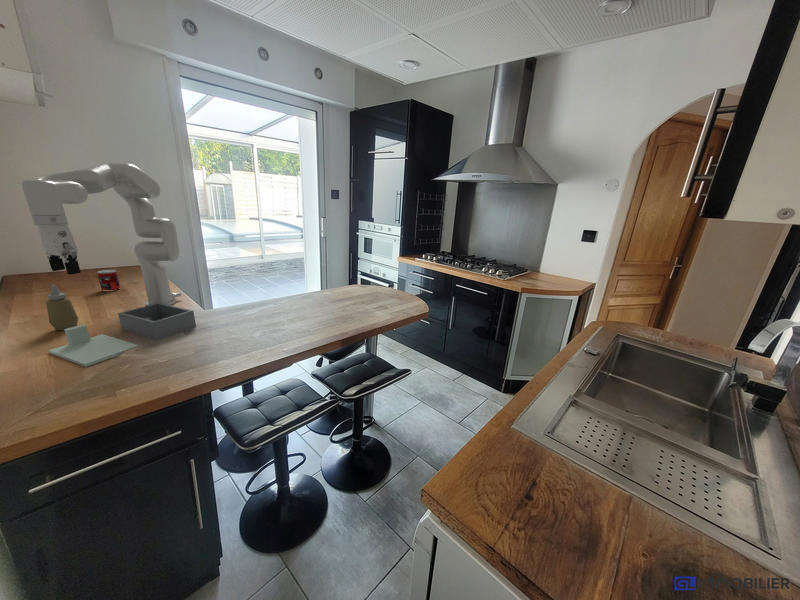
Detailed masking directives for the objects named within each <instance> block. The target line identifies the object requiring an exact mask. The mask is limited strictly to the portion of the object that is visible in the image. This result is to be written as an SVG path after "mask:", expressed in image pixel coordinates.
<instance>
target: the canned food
mask: <svg viewBox="0 0 800 600" xmlns="http://www.w3.org/2000/svg"><path fill="white" fill-rule="evenodd" d="M96 274H97V278H98V281H99V285H100V288H101V291H102V290H115V289H119V288H120V289H121V285H120V280H119V276H118V273H117V270H115V269H103V270H98V271H97V273H96ZM120 289H119V290H120Z"/></svg>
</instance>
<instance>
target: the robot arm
mask: <svg viewBox="0 0 800 600" xmlns="http://www.w3.org/2000/svg"><path fill="white" fill-rule="evenodd" d="M20 184H21V189H22V191H23V194H24V197H25V201H26V203H27V206H28V209H29V212H30V213H29V214H30V215H31V218H32V222H33V224H34V226H35V227H37V228H38V233H39V238H40V241H41V244H42V247H43V250H44V252H45V254H46V257H47V260H48V263H49V266H50V269H51V271H53V272H57V271H64V270H65V271H66V273H67V275H68V276H69V275H75V274H81V268H80V264H79V261H78V255H79V249H78V248H77V245H76V241H75V239H74V236H73V234H72V231H71V229H70V228H69V226H68V225H69V222H68V219H67V215H66V212H65V208H64V204H65V205H79V204H83V203H85V202H86V201H87V199H88V198H89V197H88V196H89V195H93V194H101V193H102V192H105V191H107V190H109V189H112V188H113V190H114V192H115V193H116V194H117V195H118V196H119V197H121V198H122V199H123V200H124V201H125V202H126V203H127V204H128V206H129V209H130V211H131V215H132V216H131V217H132V222H133V227H134V232H135V234H136V236H138V237H140V238H142V239H161V240H162V241H159V240H141V241H140V242H138V243H136V244H135V245H134V248H133V249H134V250H133V251H134V254H135V257H136V259H137V260H138V263H139V265H140V270H141V273H142V279H143V284H144V287H145V292H146V296H147V301H146V302H145V303H144V305H145V306H148V305H152V304H156V303H162V304H166V305H171V306H173V304H174V305H175V303H177V300H176V298H179V297H181V296H182V292H171V287H170V283H169V278H168V273H167V272H168V271H167V268H166V266H165V265H164V264H163V262H174V261H177V260H178V259H179V257H180V246H179V240H178V234H177V233H178V232H177V229H176V226H175V224H174V222H173V221H172V220H170V218H169V219H168V218H165V217H163V218H161V217H157V216H156V213H155V209H154V206H153V204H152V203H151V202H150V201H149V200H148V199H157V198H159V196H160V195H161V186H160V185H159V184H158V182H157V180H155V179H154V178H153V177H151V175H149V174H148V173H146V171H144V170H143V169H141V168H139V166H136V165H134V164H132V163H120V162H119V163H117V162H103V163H99V164H97V165H93V166H91V167H88V168H87V167H86V168H85V169H78V170H71V171H65V172H59V173H58V172H57V173H53V174H48V175H43V176H41V177H37V178H35V179H25V180H22V181H21V183H20ZM63 260H64V261H63Z"/></svg>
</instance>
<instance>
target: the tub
mask: <svg viewBox="0 0 800 600" xmlns="http://www.w3.org/2000/svg"><path fill="white" fill-rule="evenodd" d="M117 315H118V319H119V323H120V326H121V330H122V331H126V332H129V333H132V334H135V335H139V336H142V337H146V338H149V339H152V340H156V341H159V340H162V339H165V338H168V337H170V336H173V335H176V334H179V333H181V332H184V331H187V330H190V329H194V328H196V327H197V325H196V319H195V317H196V316H195V313H194V310H192V309H187V308H183V307H180V306H174V305H166V304H162V303H156V304H152V305H148V306H141V307H136V308H133V309H129V310H125V311H121V312H118V313H117ZM144 318H152V319H153V321H152V320H148V319H144Z"/></svg>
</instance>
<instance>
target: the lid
mask: <svg viewBox="0 0 800 600" xmlns="http://www.w3.org/2000/svg"><path fill="white" fill-rule="evenodd" d="M63 331H64V333H65V337H66V340H67V343H68V344H65V345H61V346H59V347H55V348H51V349H49V350H48V354H51V355H53V356H56V357H58V358H62V359H63V360H67V361H69V362H71V363H74V364H77V365H79V366H82V367H85V368H87V367H89V366H92V365H95V364H97V363H100V362H104V361H106V360H109V359H111V358H114V357H117V356H120V355H123V354H124V352H125V351H128V350H131V349H134V348H137V347H139V344H135V343H133V342H129V341H126V340H122V339H119V338H117V337H112V336H109V335H106V334H98V335H95V336H92V337H91V336H90V333H89V331H88V327H87V325H85V324H80V325H77V326H75V327H71V328H67V329H64V330H63Z"/></svg>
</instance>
